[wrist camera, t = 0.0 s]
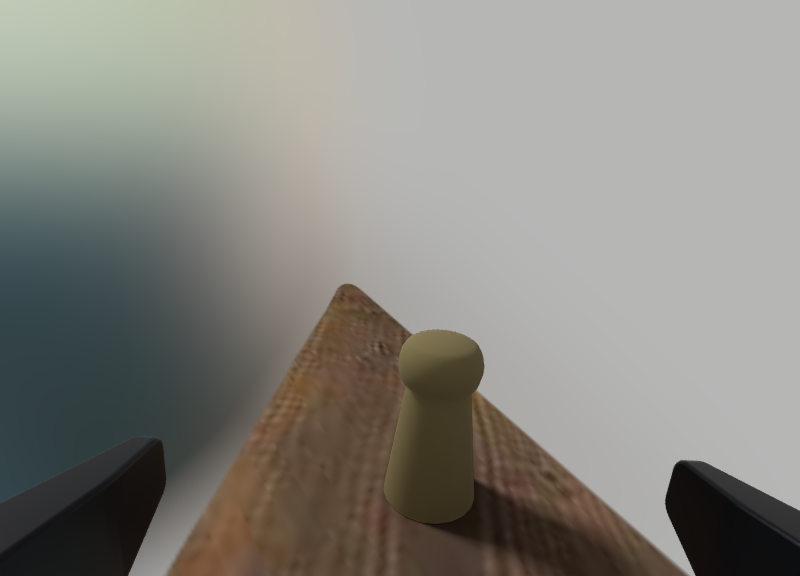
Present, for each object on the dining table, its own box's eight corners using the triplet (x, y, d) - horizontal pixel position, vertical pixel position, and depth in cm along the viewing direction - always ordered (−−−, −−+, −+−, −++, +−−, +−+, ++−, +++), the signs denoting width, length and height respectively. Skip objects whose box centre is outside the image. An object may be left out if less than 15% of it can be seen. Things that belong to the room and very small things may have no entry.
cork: (370, 471, 33) (378, 324, 30) (446, 453, 36) (460, 315, 33) (406, 535, 28) (420, 365, 25) (492, 509, 31) (515, 351, 27)
